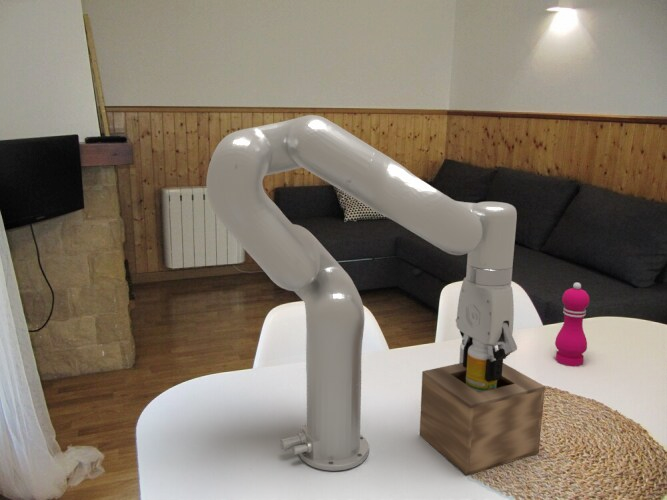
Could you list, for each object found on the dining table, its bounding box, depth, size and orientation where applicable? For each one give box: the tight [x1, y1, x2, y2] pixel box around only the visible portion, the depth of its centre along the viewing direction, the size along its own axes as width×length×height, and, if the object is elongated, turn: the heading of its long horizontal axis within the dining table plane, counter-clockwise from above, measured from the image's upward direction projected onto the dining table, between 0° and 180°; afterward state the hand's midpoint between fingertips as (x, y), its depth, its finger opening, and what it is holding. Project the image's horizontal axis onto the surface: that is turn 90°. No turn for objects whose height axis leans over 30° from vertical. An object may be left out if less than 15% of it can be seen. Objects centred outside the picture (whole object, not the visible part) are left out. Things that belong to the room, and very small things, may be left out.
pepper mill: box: [554, 282, 590, 367], centre depth 142 cm, size 7×7×20 cm
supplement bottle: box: [466, 339, 498, 392], centre depth 104 cm, size 5×5×10 cm
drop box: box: [419, 362, 546, 477], centre depth 107 cm, size 16×14×13 cm
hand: (481, 371), depth 105 cm, fingers closed on supplement bottle, 5 cm apart
